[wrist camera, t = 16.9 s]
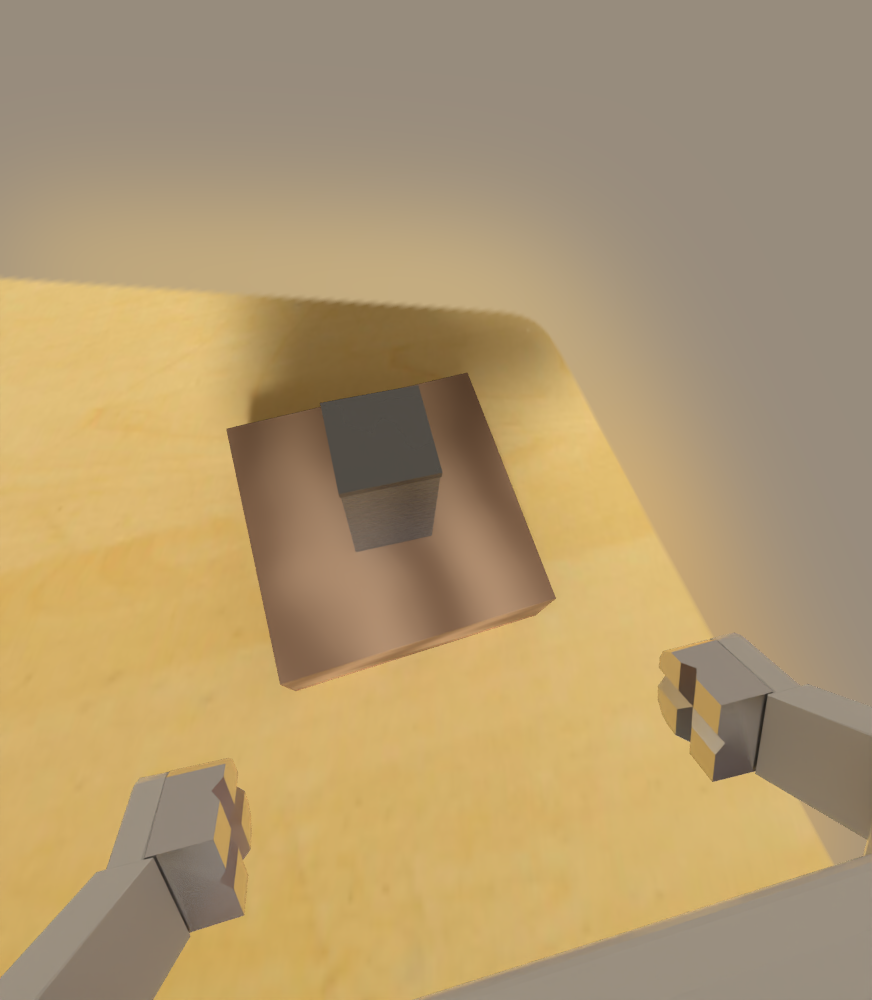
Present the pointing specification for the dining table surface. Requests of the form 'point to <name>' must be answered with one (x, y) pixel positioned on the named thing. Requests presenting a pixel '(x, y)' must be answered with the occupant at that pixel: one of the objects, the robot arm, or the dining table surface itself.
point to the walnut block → (389, 569)
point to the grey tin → (384, 465)
